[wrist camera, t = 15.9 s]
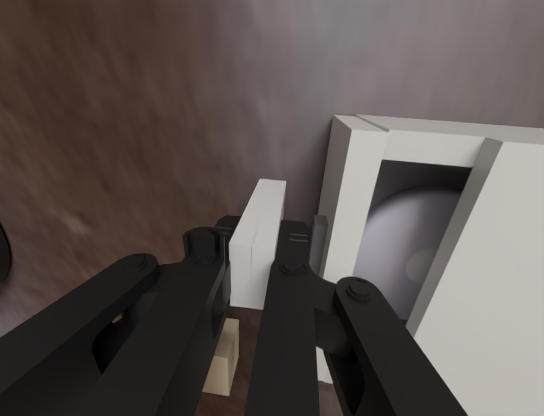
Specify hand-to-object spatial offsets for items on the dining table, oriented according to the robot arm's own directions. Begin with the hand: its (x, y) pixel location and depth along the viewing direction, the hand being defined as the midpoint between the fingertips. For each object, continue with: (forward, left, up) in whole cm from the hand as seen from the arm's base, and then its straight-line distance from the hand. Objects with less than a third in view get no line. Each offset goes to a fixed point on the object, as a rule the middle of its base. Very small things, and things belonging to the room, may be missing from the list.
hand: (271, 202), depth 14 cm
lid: (+9, -2, 0) cm, 9 cm away
